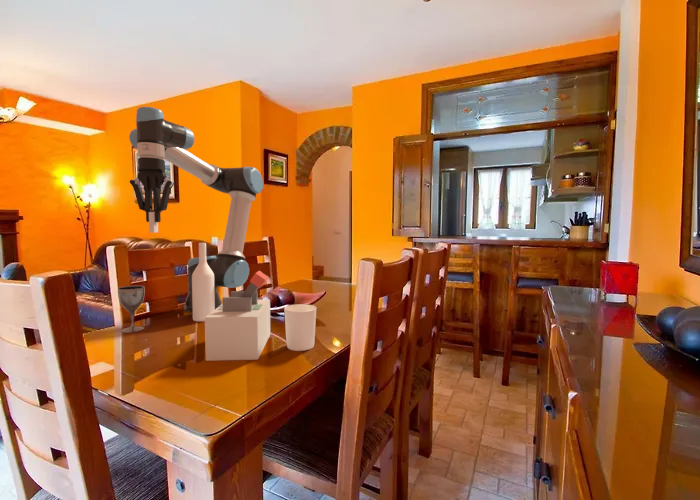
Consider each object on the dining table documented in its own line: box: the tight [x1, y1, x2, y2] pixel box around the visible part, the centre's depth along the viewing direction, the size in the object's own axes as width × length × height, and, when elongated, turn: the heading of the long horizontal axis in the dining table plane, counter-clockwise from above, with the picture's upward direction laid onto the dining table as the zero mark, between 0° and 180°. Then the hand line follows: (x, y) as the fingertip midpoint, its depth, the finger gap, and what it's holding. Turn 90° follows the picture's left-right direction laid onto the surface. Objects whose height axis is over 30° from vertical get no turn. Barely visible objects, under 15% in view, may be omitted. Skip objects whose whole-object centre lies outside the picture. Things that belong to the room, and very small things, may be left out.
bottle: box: [192, 242, 215, 322], centre depth 134 cm, size 8×8×30 cm
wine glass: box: [117, 284, 146, 334], centre depth 120 cm, size 8×8×15 cm
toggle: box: [241, 270, 270, 298], centre depth 104 cm, size 6×4×11 cm
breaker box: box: [204, 290, 271, 362], centre depth 104 cm, size 22×14×16 cm, turn 4°
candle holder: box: [283, 303, 317, 352], centre depth 105 cm, size 10×10×12 cm
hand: (153, 232), depth 111 cm, fingers closed
